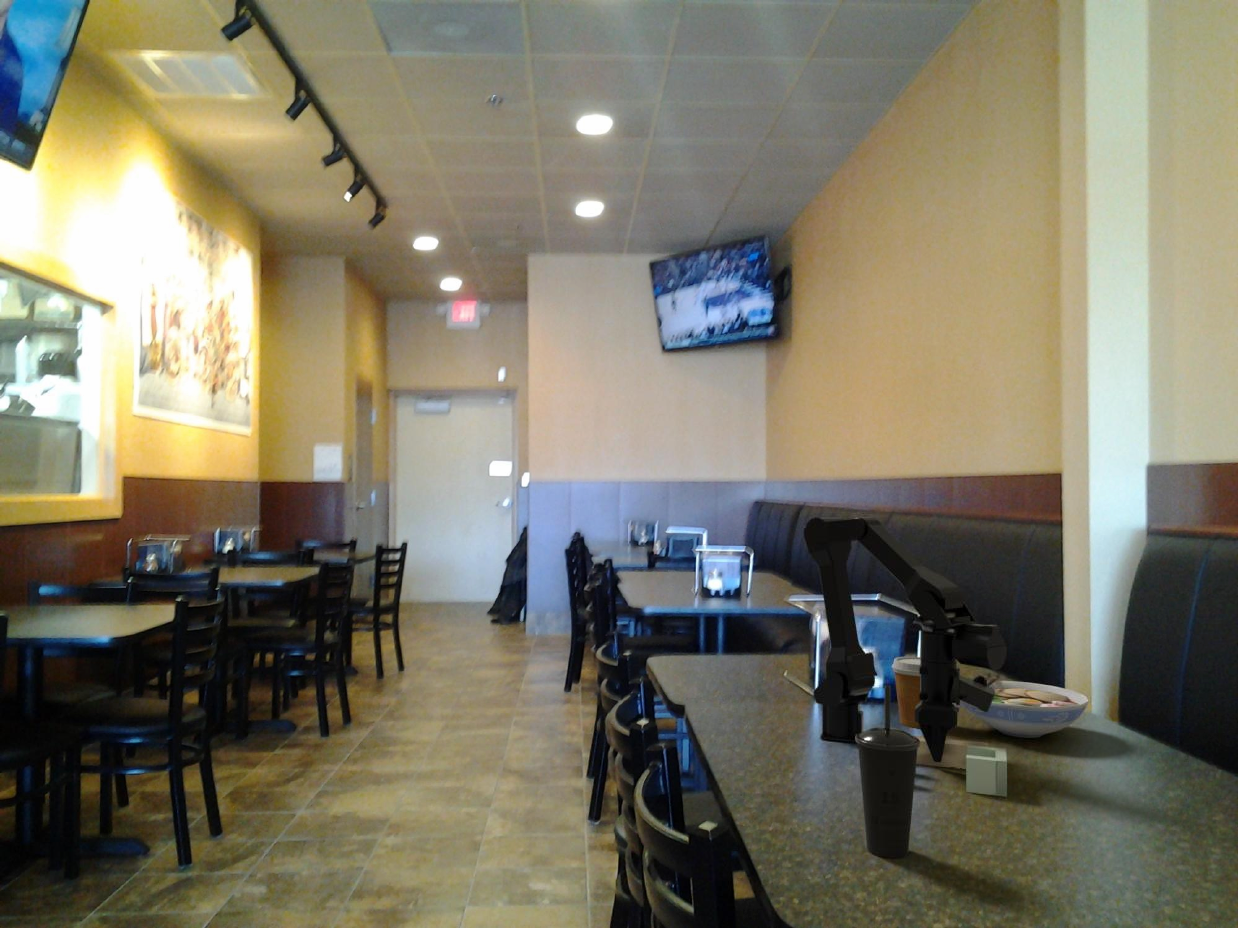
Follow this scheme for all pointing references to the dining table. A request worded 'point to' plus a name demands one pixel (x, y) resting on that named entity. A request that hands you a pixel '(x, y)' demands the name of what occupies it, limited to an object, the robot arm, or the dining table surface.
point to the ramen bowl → (1029, 708)
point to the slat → (946, 753)
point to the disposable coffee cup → (907, 688)
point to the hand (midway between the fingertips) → (938, 756)
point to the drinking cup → (887, 785)
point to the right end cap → (986, 770)
